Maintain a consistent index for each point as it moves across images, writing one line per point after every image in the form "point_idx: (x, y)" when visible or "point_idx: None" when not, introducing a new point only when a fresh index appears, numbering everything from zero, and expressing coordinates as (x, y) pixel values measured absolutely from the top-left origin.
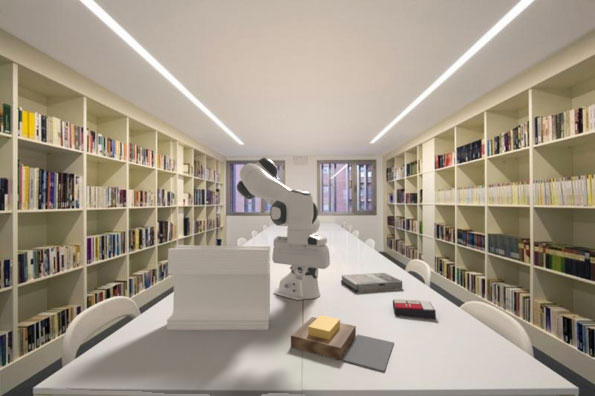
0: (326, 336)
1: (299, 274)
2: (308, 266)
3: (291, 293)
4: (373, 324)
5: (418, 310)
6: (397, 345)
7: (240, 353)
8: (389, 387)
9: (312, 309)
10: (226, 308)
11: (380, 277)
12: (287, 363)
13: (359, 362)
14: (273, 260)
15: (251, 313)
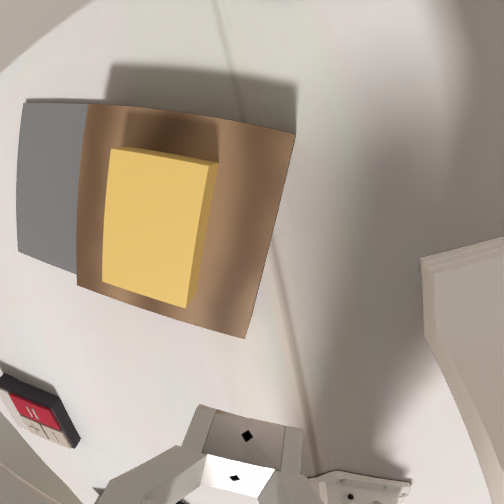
0: (135, 149)
1: (230, 458)
2: (11, 482)
3: (358, 490)
4: (79, 351)
5: (15, 392)
6: (14, 243)
7: (455, 64)
8: (24, 54)
9: None
10: None
11: None
12: (275, 28)
13: (65, 111)
14: None
15: (499, 306)
